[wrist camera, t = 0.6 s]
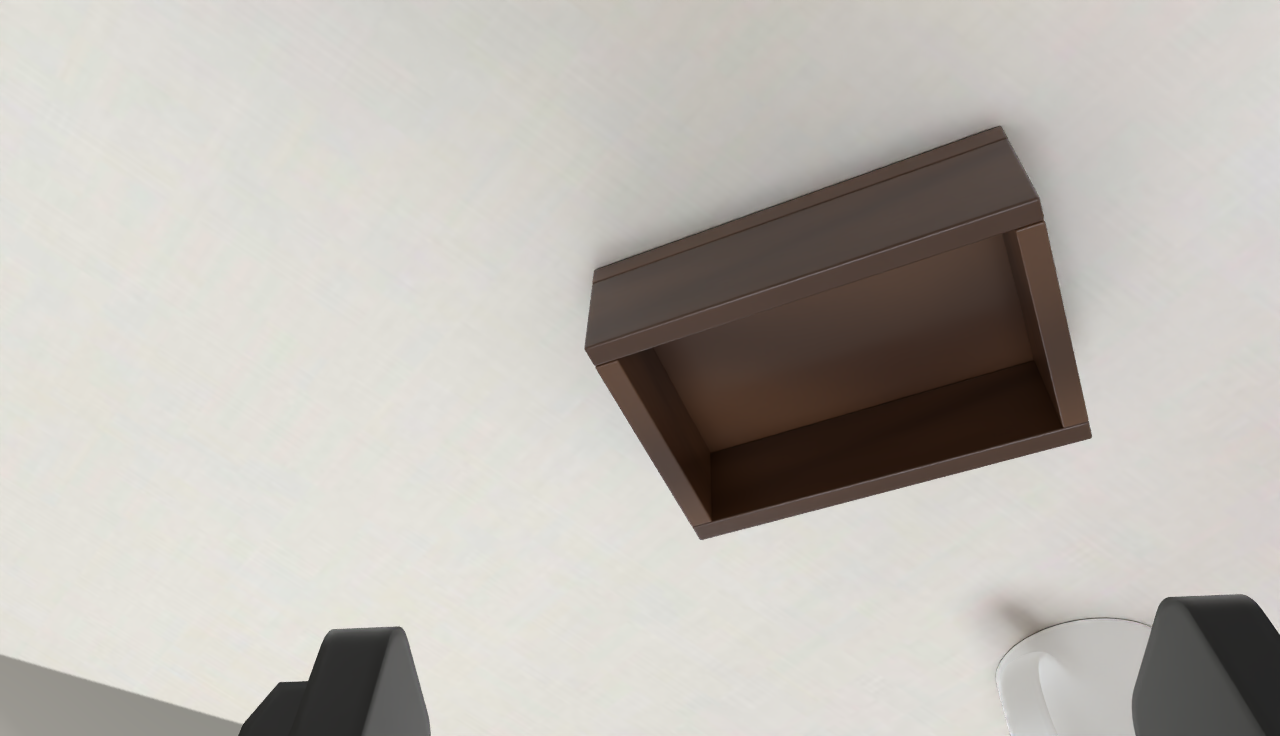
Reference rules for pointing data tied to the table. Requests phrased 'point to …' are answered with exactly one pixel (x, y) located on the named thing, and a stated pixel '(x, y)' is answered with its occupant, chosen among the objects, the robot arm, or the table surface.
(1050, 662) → the mug
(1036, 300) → the box
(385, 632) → the robot arm
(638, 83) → the table surface
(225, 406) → the table surface
